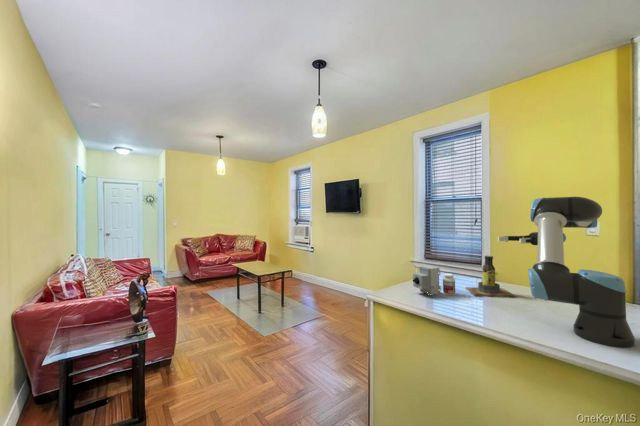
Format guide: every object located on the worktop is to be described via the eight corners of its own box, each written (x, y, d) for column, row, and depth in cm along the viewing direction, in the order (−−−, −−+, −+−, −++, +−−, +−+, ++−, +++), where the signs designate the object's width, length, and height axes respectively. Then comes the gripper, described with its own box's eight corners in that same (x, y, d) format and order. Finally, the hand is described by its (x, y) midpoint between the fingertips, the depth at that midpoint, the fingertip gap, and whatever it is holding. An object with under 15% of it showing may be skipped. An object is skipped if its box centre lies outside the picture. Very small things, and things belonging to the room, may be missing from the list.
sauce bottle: (489, 293, 148) (489, 256, 148) (479, 290, 153) (479, 255, 154) (498, 291, 150) (497, 256, 150) (488, 288, 156) (487, 254, 156)
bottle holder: (502, 290, 157) (502, 281, 157) (515, 297, 143) (515, 287, 143) (465, 289, 160) (465, 280, 160) (474, 296, 146) (474, 286, 146)
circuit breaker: (411, 293, 154) (410, 267, 155) (431, 290, 159) (430, 265, 159) (419, 296, 147) (419, 269, 147) (440, 294, 152) (440, 267, 152)
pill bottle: (447, 291, 156) (447, 272, 156) (457, 294, 150) (457, 274, 150) (440, 293, 153) (440, 274, 153) (450, 296, 147) (450, 276, 147)
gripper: (562, 247, 143) (530, 249, 138) (519, 242, 167) (490, 244, 163) (562, 233, 143) (530, 234, 138) (518, 230, 167) (490, 232, 163)
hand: (508, 240), depth 151 cm, fingers open, 13 cm apart
